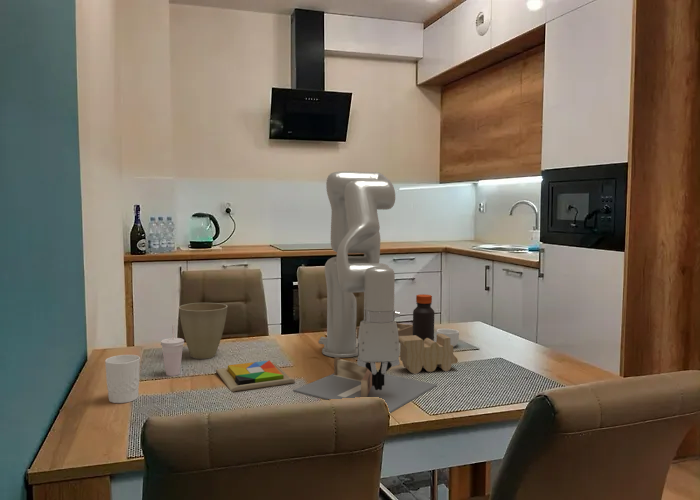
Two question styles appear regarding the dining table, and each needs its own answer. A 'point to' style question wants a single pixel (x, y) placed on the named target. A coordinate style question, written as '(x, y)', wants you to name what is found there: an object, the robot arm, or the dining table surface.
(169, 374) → the smoothie
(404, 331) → the tray
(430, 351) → the toy train
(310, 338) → the dining table surface
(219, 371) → the wooden puzzle
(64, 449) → the dining table surface
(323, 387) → the card
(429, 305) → the bottle
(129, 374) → the white cup
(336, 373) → the fixed fence panel
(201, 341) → the plant pot
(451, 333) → the teacup
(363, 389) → the hinged fence panel
